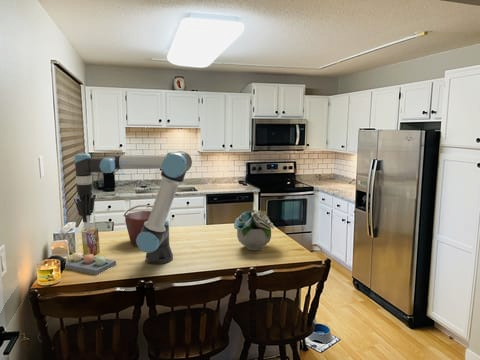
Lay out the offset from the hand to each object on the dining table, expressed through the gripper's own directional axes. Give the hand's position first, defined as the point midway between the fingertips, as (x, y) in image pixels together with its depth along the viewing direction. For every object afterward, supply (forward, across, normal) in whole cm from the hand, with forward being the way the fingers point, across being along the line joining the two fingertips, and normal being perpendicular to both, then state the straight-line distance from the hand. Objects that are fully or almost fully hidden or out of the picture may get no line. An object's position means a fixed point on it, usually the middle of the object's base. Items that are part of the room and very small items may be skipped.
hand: (87, 227), depth 187 cm
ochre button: (+20, 0, -8) cm, 21 cm away
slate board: (+22, 0, 0) cm, 22 cm away
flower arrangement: (+22, -60, +73) cm, 97 cm away
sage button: (+20, 0, +8) cm, 21 cm away
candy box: (+22, -14, -12) cm, 29 cm away
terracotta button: (+20, 0, 0) cm, 20 cm away
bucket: (+22, -43, +4) cm, 48 cm away
